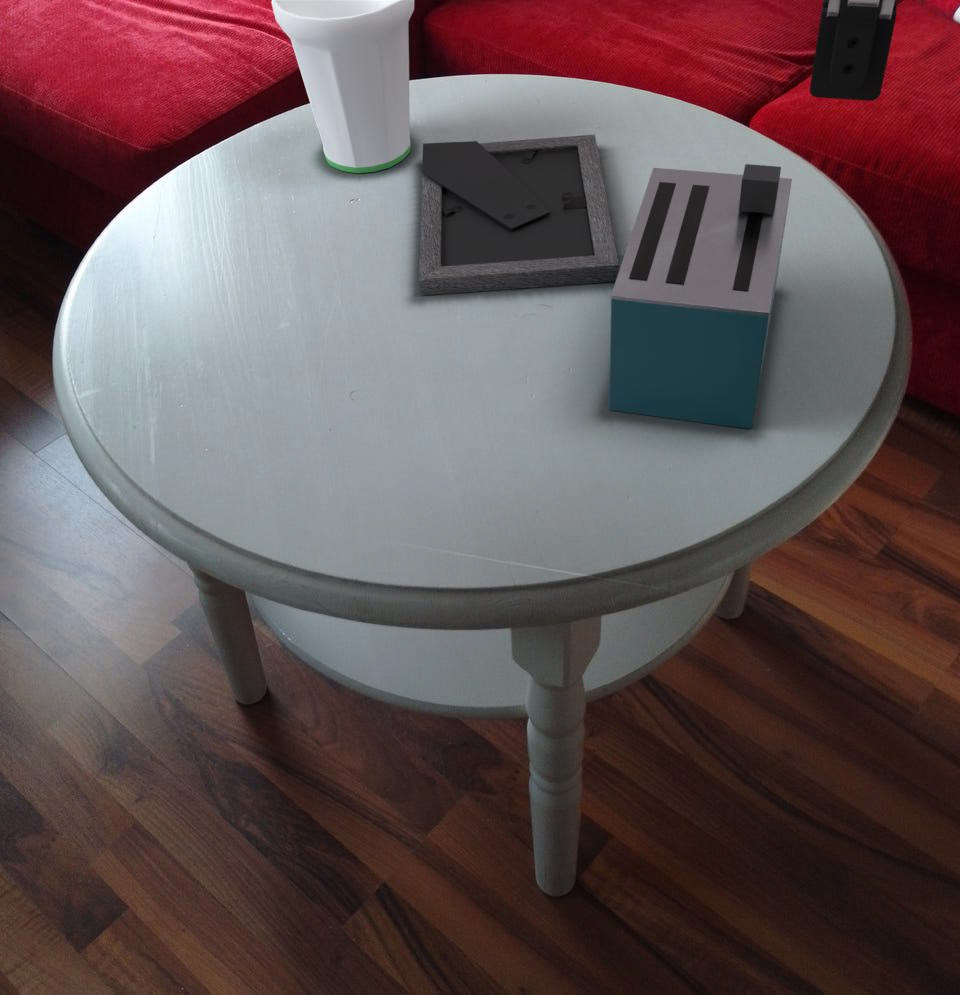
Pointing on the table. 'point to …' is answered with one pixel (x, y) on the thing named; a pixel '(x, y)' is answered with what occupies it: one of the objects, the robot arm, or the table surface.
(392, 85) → the cup
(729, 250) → the toaster
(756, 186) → the block
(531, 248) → the picture frame
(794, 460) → the table surface
